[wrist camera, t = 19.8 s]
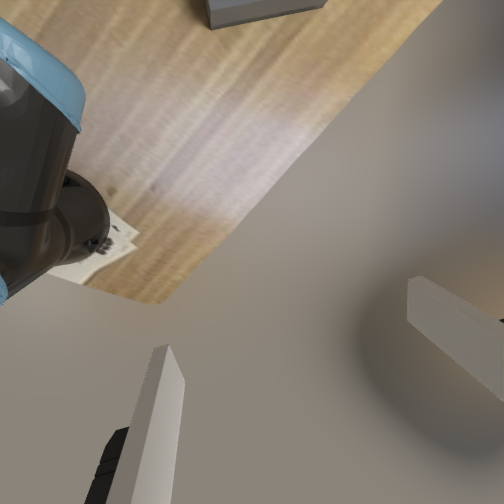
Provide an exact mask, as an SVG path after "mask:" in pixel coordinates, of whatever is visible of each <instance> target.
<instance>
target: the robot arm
mask: <svg viewBox="0 0 504 504" xmlns="http://www.w3.org/2000/svg"><path fill="white" fill-rule="evenodd" d="M85 100H86V97H85V91H84V88H83V86H82V83H81V82H80V80H79V79H78V78H77V76H76V75H75V74H74V73H73V72H72V71H71V70H70V69H69V68H68V67H67V66H65V65H64V64H63V63H62V62H61V61H59V60H58V59H57V58H56V57H54V56H53V55H52V54H50V53H49V52H48V51H47V50H45V49H44V48H43V47H41V46H40V45H39V44H37V43H36V42H35V41H33V40H32V39H30V38H29V37H28V36H26V35H25V34H24V33H22V32H21V31H19V30H18V29H17V28H15V27H14V26H12V25H11V24H10V23H8V22H7V21H5V20H4V19H2V18H1V17H0V306H1V305H3V303H4V302H5V301H6V300H7V299H9V298H10V297H11V296H13V295H14V294H16V293H17V292H18V291H20V290H21V289H23V288H24V287H26V286H27V285H28V284H30V283H31V282H33V281H34V280H35V279H37V278H38V277H40V276H41V275H43V274H44V273H46V272H47V271H48V270H50V269H51V268H53V267H54V266H60V265H66V264H71V263H75V262H78V261H81V260H83V259H85V258H87V257H89V256H90V255H92V254H93V253H94V252H95V251H97V250H98V249H99V248H100V247H101V246H102V245H103V243H104V242H105V240H106V238H107V236H108V233H109V228H110V217H109V212H108V209H107V206H106V204H105V202H104V200H103V198H102V196H101V195H100V193H99V192H98V191H97V190H96V189H95V187H94V186H93V185H92V184H90V183H89V182H88V181H87V180H86V179H84V178H83V177H81V176H80V175H78V174H76V173H74V172H72V171H70V170H67V167H68V163H69V160H70V156H71V153H72V149H73V146H74V142H75V139H76V135H77V134H80V133H81V126H80V122H81V118H82V113H83V109H84V105H85ZM407 321H408V322H410V323H411V324H412V325H413V326H414V327H416V328H417V329H418V330H419V331H420V332H422V333H423V334H424V335H425V336H426V337H427V338H429V339H430V340H431V341H432V342H433V343H434V344H436V345H437V346H438V347H439V348H440V349H441V350H443V351H444V352H445V353H446V354H448V355H449V356H450V357H451V358H452V359H454V361H456V362H457V363H458V364H459V365H460V366H462V367H463V368H464V369H465V370H466V371H467V372H469V373H470V374H471V375H472V376H474V377H475V378H476V379H477V380H478V381H479V382H480V383H482V384H483V385H484V386H485V387H486V388H488V389H489V390H490V391H491V392H492V393H493V394H495V395H496V396H497V397H498V398H499V399H500V400H502V401H503V402H504V319H501V320H497V319H495V318H494V317H492V316H490V315H488V314H487V313H485V312H483V311H482V310H480V309H478V308H476V307H475V306H473V305H471V304H469V303H468V302H466V301H464V300H462V299H461V298H459V297H457V296H456V295H454V294H452V293H450V292H449V291H447V290H445V289H443V288H442V287H440V286H438V285H436V284H435V283H433V282H431V281H429V280H428V279H426V278H424V277H422V276H419V277H415V278H411V279H408V302H407ZM184 388H185V381H184V378H183V376H182V374H181V371H180V369H179V367H178V365H177V362H176V360H175V358H174V356H173V353H172V351H171V348H170V346H169V345H168V344H167V345H164V346H160V347H156V348H154V349H153V353H152V356H151V359H150V362H149V366H148V369H147V372H146V375H145V378H144V382H143V385H142V388H141V391H140V394H139V398H138V401H137V404H136V407H135V411H134V414H133V417H132V420H131V424H130V426H129V427H126V428H123V429H119V430H116V431H115V433H114V434H113V436H112V437H111V439H110V440H109V442H108V443H107V445H106V447H105V449H104V452H103V454H102V457H101V460H100V465H99V466H98V468H97V471H96V474H95V479H94V480H93V481H92V484H91V487H90V490H89V492H88V495H87V497H86V500H85V503H84V504H170V501H171V493H172V485H173V477H174V469H175V461H176V453H177V444H178V437H179V429H180V421H181V412H182V404H183V395H184Z"/></svg>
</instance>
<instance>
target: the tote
mask: <svg viewBox="0 0 504 504" xmlns="http://www.w3.org/2000/svg"><path fill="white" fill-rule="evenodd" d="M204 1H205V5H206V10H207V14H208V19H209V24H210V28H211V30H215V29H220V28H225V27H230V26H234V25H239V24H244V23H249V22H254V21H259V20H264V19H269V18H274V17H279V16H284V15H289V14H294V13H299V12H304V11H308V10H313V9H318V8H322V7H323V6H324V5H325V3H326V2H327V1H328V0H204Z"/></svg>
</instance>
